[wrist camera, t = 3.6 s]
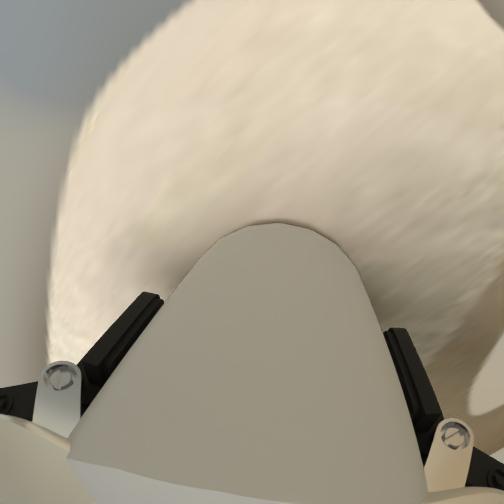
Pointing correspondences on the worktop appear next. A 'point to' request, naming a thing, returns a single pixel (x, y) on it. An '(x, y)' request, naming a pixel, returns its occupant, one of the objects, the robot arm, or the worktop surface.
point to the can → (255, 388)
